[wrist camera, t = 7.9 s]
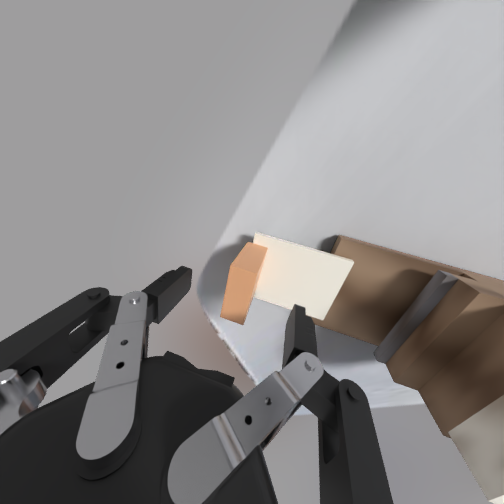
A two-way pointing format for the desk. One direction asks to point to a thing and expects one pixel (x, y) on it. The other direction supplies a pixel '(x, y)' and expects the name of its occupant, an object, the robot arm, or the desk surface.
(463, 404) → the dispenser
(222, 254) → the desk surface
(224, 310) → the plank with orange cube
